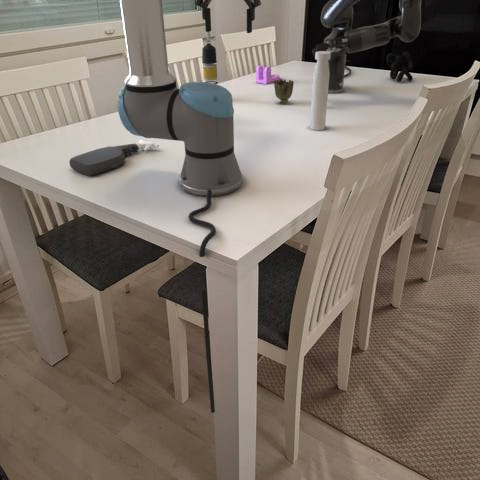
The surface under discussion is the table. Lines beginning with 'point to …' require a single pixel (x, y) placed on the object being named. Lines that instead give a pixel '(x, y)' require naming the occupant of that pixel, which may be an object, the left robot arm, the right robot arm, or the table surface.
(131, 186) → the table surface
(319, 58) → the cap
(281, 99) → the cup
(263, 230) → the table surface
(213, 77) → the yellow black flask
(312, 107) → the bottle
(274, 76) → the bracket
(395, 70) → the squiggle
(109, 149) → the spray bottle
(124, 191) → the table surface
